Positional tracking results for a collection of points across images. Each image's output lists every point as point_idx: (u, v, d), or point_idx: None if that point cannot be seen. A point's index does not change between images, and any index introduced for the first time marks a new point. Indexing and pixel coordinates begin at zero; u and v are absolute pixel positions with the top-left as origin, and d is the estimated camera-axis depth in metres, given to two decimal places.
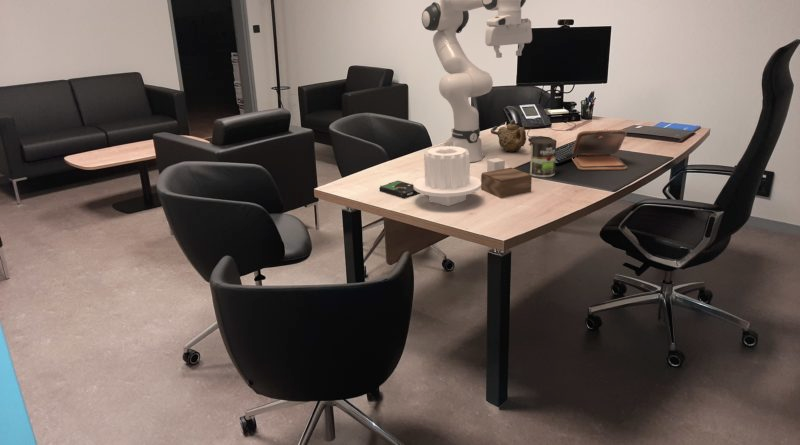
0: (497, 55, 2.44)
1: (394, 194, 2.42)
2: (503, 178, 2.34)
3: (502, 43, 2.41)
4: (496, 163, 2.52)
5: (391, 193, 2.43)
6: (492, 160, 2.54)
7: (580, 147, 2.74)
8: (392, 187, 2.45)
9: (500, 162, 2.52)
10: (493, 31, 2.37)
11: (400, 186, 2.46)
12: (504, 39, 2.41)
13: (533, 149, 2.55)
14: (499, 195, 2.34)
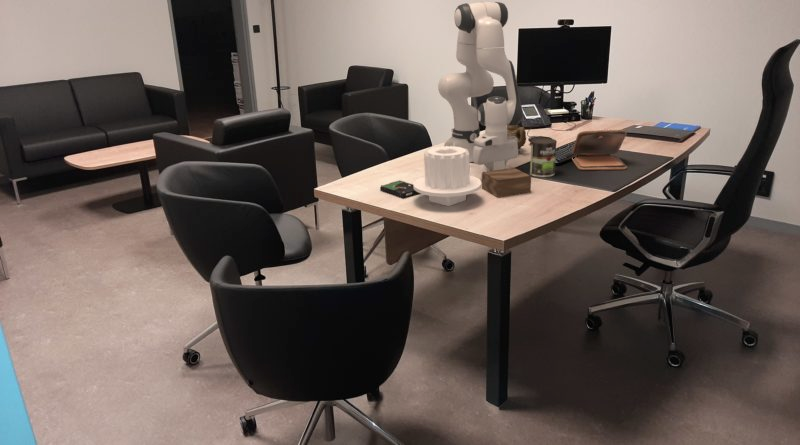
0: None
1: (394, 194, 2.42)
2: (501, 178, 2.34)
3: (489, 161, 2.51)
4: (496, 163, 2.52)
5: (391, 193, 2.43)
6: None
7: (580, 147, 2.74)
8: (392, 186, 2.46)
9: (500, 162, 2.52)
10: (480, 151, 2.47)
11: (400, 186, 2.46)
12: (491, 157, 2.51)
13: (533, 149, 2.55)
14: (496, 195, 2.34)
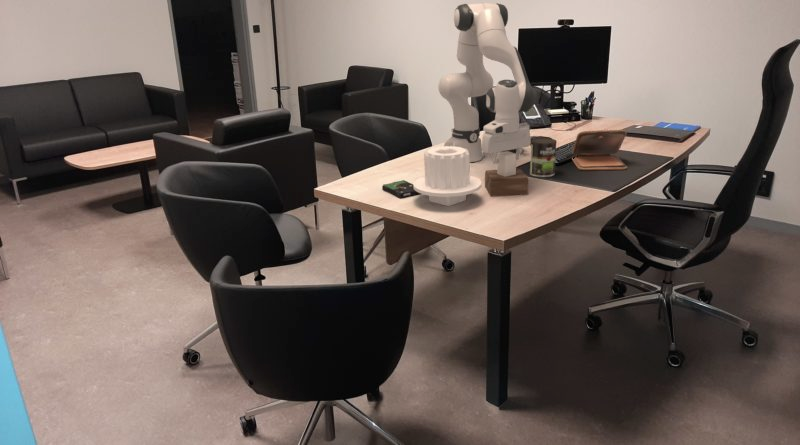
0: (494, 161, 2.35)
1: (393, 193, 2.42)
2: (496, 177, 2.35)
3: (500, 149, 2.33)
4: (507, 157, 2.34)
5: (391, 192, 2.44)
6: (503, 154, 2.36)
7: (580, 147, 2.74)
8: (394, 186, 2.46)
9: (511, 156, 2.35)
10: (490, 139, 2.29)
11: (401, 186, 2.46)
12: (501, 146, 2.33)
13: (533, 149, 2.55)
14: (490, 194, 2.36)
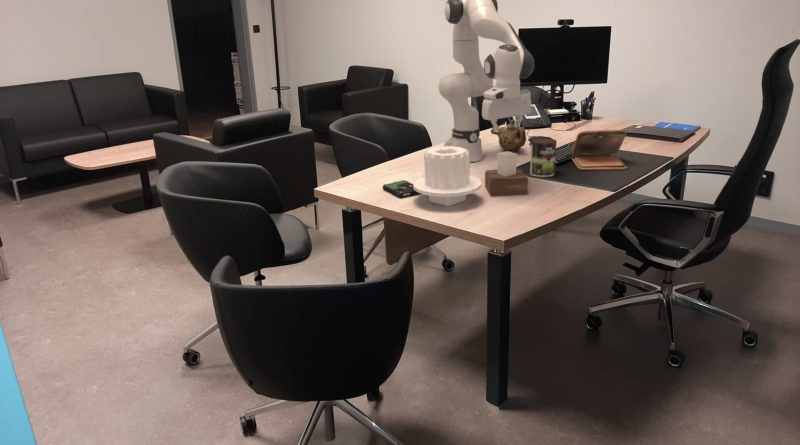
0: (494, 128, 2.31)
1: (393, 193, 2.42)
2: (496, 177, 2.35)
3: (500, 116, 2.28)
4: (508, 157, 2.34)
5: (391, 192, 2.44)
6: (503, 153, 2.36)
7: (580, 147, 2.74)
8: (394, 186, 2.46)
9: (512, 155, 2.35)
10: (490, 105, 2.24)
11: (402, 186, 2.46)
12: (502, 112, 2.28)
13: (533, 149, 2.55)
14: (490, 193, 2.36)
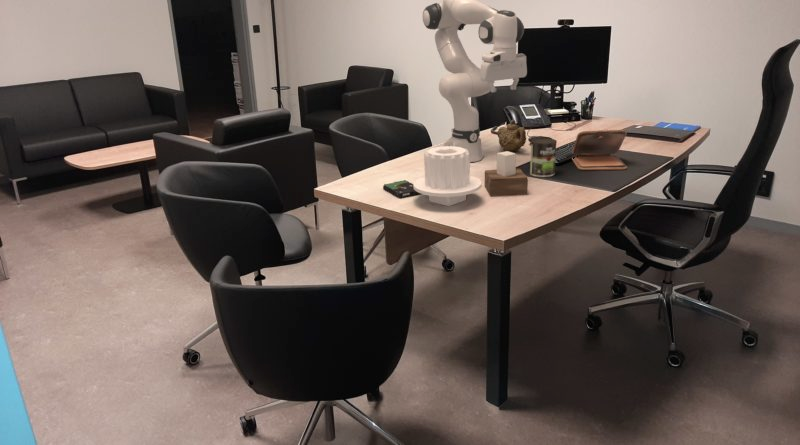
0: (492, 90, 2.46)
1: (393, 193, 2.42)
2: (496, 177, 2.35)
3: (497, 78, 2.43)
4: (507, 157, 2.34)
5: (391, 192, 2.44)
6: (502, 153, 2.36)
7: (580, 147, 2.74)
8: (394, 186, 2.46)
9: (511, 155, 2.35)
10: (488, 67, 2.39)
11: (402, 186, 2.46)
12: (499, 75, 2.43)
13: (533, 149, 2.55)
14: (489, 193, 2.36)
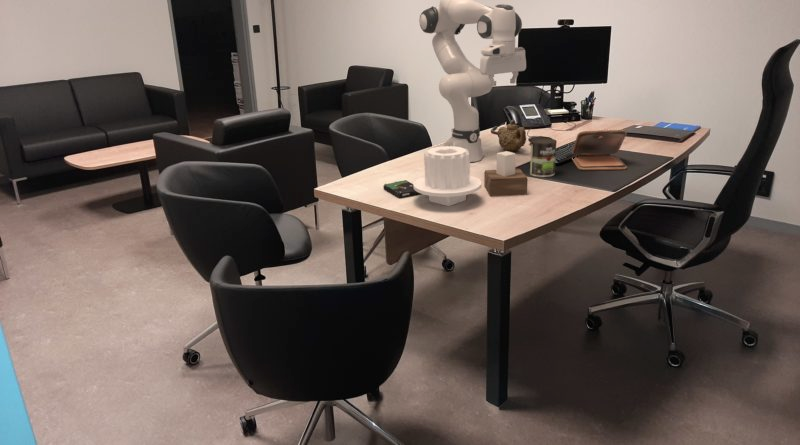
0: (492, 83, 2.47)
1: (392, 193, 2.43)
2: (496, 177, 2.36)
3: (497, 71, 2.45)
4: (507, 156, 2.34)
5: (391, 192, 2.44)
6: (502, 153, 2.37)
7: (580, 147, 2.74)
8: (394, 186, 2.46)
9: (511, 155, 2.35)
10: (487, 60, 2.41)
11: (402, 186, 2.46)
12: (498, 68, 2.45)
13: (533, 149, 2.55)
14: (489, 193, 2.36)
